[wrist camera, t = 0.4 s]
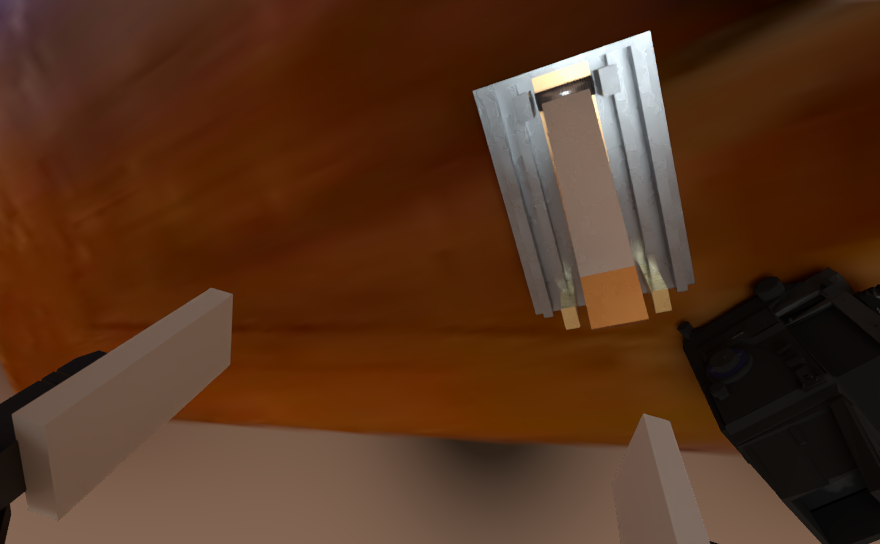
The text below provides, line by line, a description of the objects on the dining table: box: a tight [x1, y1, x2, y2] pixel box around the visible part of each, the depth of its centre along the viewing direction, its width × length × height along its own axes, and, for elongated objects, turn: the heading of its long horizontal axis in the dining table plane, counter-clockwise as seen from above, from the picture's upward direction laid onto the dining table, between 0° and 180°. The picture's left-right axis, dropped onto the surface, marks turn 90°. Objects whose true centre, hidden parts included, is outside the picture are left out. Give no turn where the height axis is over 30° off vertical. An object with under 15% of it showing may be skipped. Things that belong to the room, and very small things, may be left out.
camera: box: [678, 267, 880, 544], centre depth 33 cm, size 10×14×20 cm
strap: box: [534, 75, 649, 331], centre depth 30 cm, size 16×4×1 cm
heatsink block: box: [473, 31, 695, 330], centre depth 37 cm, size 18×12×9 cm, turn 18°
